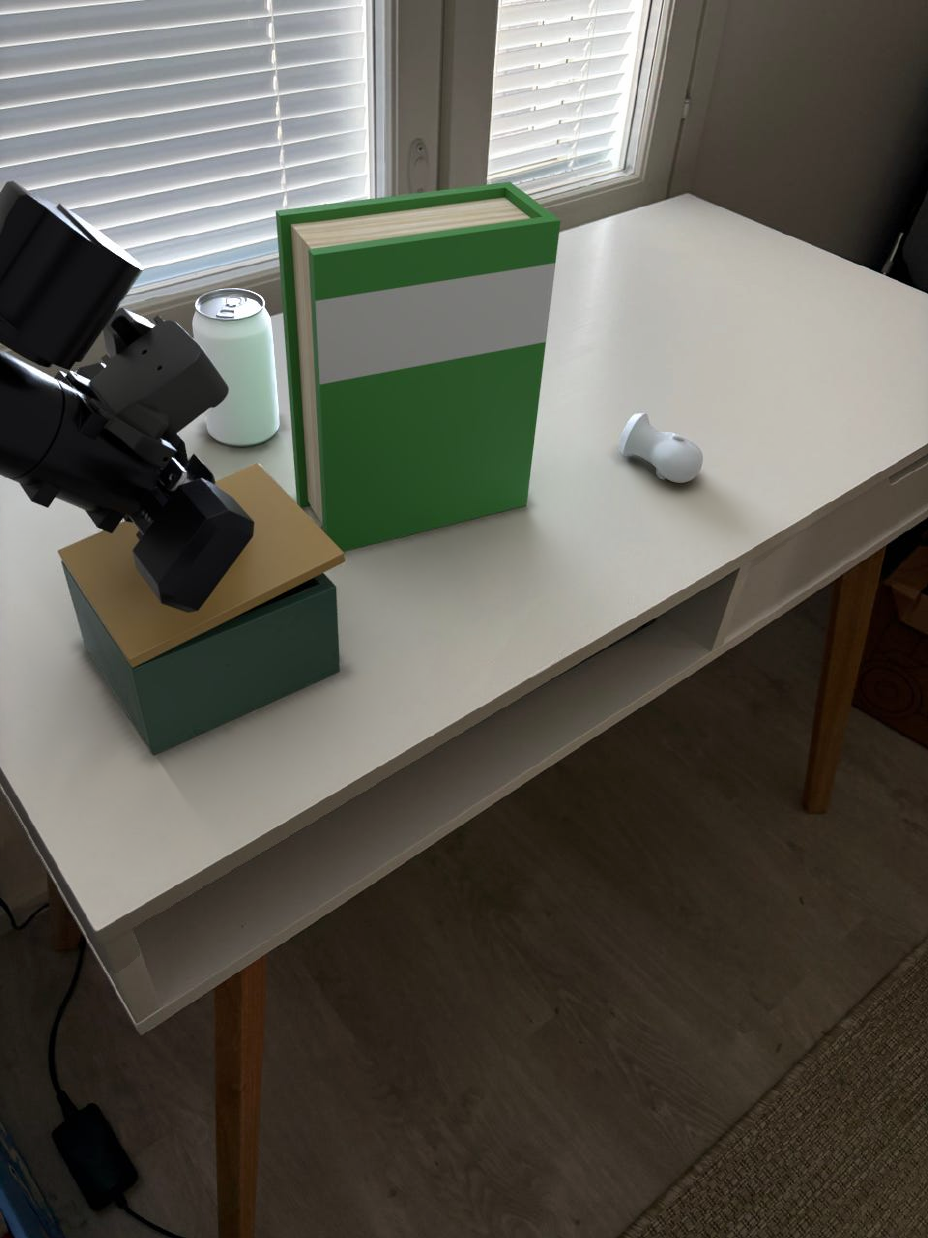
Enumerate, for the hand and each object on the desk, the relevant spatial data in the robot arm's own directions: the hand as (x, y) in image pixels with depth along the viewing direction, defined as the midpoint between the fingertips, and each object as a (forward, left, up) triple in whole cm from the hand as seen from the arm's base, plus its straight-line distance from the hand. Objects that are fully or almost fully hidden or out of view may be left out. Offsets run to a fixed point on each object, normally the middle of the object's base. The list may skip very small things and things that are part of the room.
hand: (243, 526), depth 65 cm
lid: (-3, -1, -1) cm, 3 cm away
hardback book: (+16, +12, -10) cm, 22 cm away
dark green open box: (-3, -1, -10) cm, 11 cm away
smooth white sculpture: (+39, +11, -10) cm, 42 cm away
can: (+5, +27, -10) cm, 29 cm away
